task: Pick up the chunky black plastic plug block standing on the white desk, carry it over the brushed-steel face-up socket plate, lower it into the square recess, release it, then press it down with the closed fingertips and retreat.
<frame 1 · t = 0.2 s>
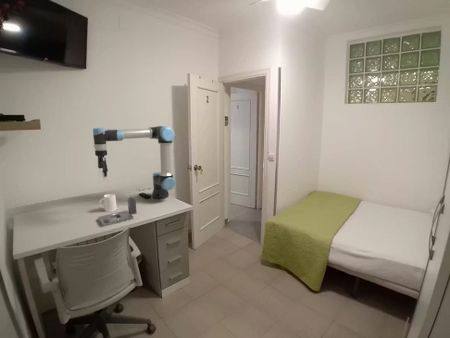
hand: (103, 178, 169), 27 cm above the table, fingers open, 13 cm apart
socket plate: (115, 219, 165), on the table
plug: (132, 213, 176), on the table
mug: (108, 210, 181), on the table
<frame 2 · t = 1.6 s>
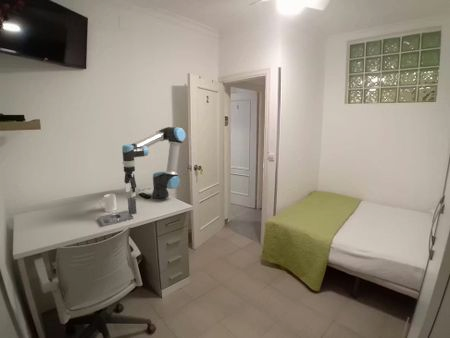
hand: (130, 193, 173), 16 cm above the table, fingers open, 13 cm apart
nothing on the table moved.
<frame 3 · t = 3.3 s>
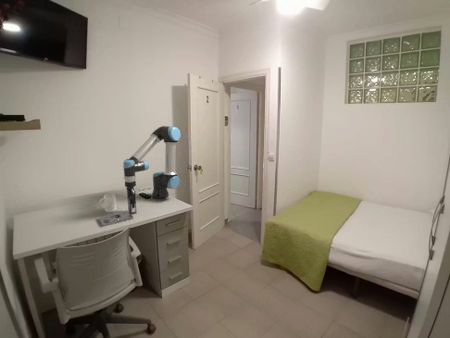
hand: (132, 210, 176), 2 cm above the table, fingers closed on plug, 4 cm apart
plug: (132, 213, 176), on the table, touching gripper
everything else where it was.
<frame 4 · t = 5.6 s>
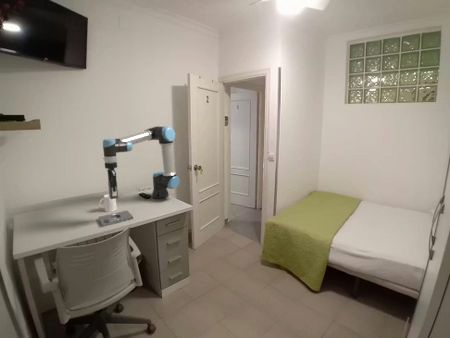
hand: (113, 194, 161), 19 cm above the table, fingers closed on plug, 4 cm apart
plug: (113, 197, 162), point 16 cm above the table, touching gripper
everything else where it was.
when the fingers open (4 cm above the table, at t = 7.8 s): plug drops 2 cm, resting in socket plate.
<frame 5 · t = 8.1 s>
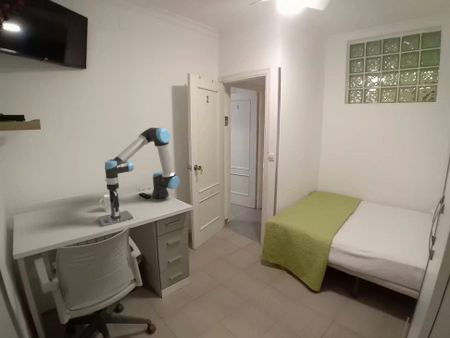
hand: (115, 213, 164), 4 cm above the table, fingers open, 8 cm apart
plug: (115, 219, 165), resting in socket plate
everything else where it was.
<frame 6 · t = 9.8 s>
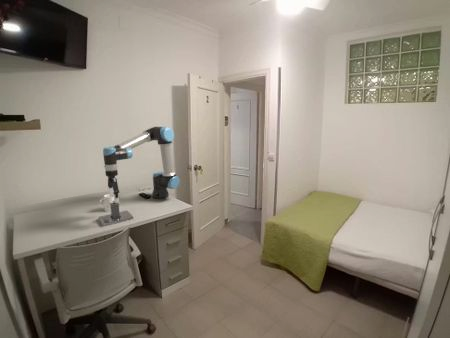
hand: (114, 199, 162), 15 cm above the table, fingers open, 13 cm apart
nothing on the table moved.
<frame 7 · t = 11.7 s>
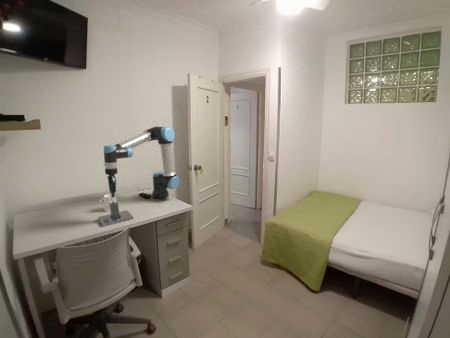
hand: (113, 200, 162), 14 cm above the table, fingers closed
plug: (115, 219, 165), resting in socket plate, touching gripper
everything else where it was.
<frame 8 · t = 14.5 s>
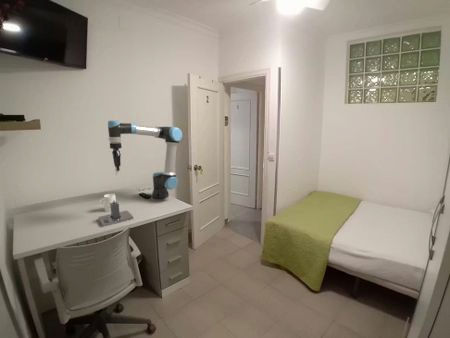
hand: (118, 174, 168), 30 cm above the table, fingers closed
plug: (115, 219, 165), resting in socket plate
everything else where it was.
at the end: plug 0.0 cm off-centre on the socket plate, point 0.0 cm above the socket plate's base; plug tilted 0°; the gripper is holding nothing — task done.
